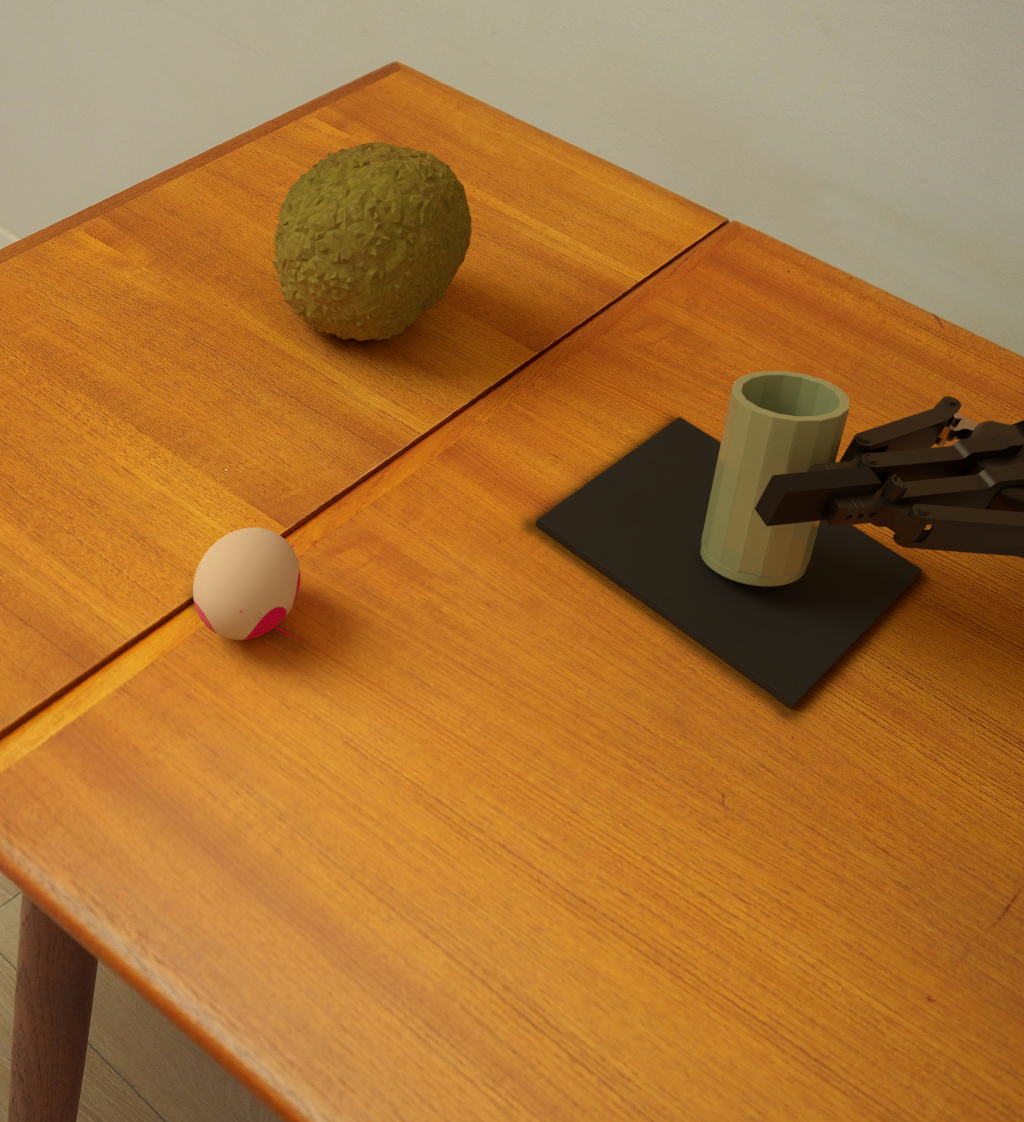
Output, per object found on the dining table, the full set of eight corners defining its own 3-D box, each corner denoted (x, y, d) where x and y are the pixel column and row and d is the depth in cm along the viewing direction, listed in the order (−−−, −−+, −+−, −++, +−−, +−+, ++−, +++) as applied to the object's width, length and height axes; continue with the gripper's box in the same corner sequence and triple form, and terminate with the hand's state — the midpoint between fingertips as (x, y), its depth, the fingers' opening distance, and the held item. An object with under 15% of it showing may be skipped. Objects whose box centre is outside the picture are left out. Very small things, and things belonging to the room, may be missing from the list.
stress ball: (233, 699, 77) (297, 674, 72) (144, 604, 75) (204, 571, 70) (294, 619, 82) (359, 590, 77) (212, 528, 80) (272, 491, 75)
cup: (825, 556, 84) (869, 393, 78) (776, 599, 80) (818, 431, 74) (731, 519, 88) (765, 361, 82) (680, 558, 84) (711, 395, 78)
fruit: (250, 245, 106) (350, 83, 99) (393, 338, 108) (500, 185, 102) (225, 298, 91) (339, 112, 85) (390, 403, 94) (514, 230, 87)
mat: (919, 575, 87) (923, 569, 87) (791, 709, 78) (795, 703, 77) (677, 422, 96) (679, 416, 96) (534, 525, 86) (536, 519, 86)
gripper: (1130, 584, 78) (800, 628, 72) (999, 443, 86) (694, 472, 80) (1209, 495, 73) (859, 535, 67) (1062, 355, 81) (740, 379, 75)
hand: (769, 500), depth 73 cm, fingers closed
